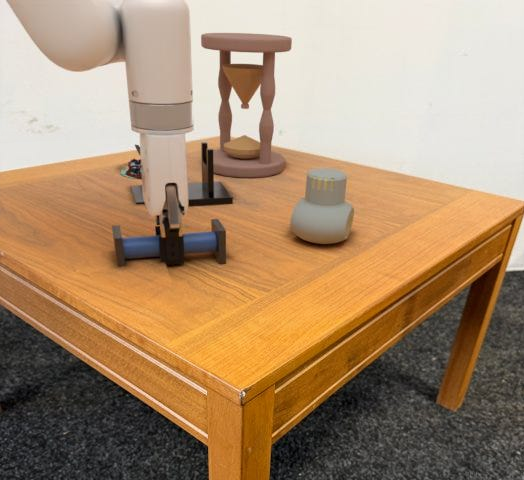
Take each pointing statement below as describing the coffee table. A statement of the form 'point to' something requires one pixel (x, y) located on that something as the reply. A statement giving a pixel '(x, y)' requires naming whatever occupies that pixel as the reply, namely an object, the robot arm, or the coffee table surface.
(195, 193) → the holder
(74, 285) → the coffee table surface
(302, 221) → the air freshener
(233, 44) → the hourglass
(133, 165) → the dish
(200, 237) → the handle
